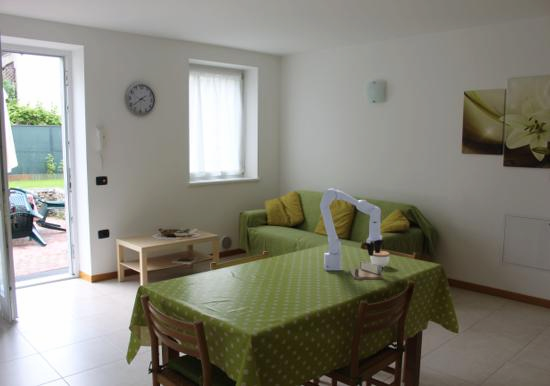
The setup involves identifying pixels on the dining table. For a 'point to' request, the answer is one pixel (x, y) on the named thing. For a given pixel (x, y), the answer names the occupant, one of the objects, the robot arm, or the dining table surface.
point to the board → (364, 274)
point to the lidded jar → (380, 258)
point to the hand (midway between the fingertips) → (374, 254)
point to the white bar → (371, 267)
